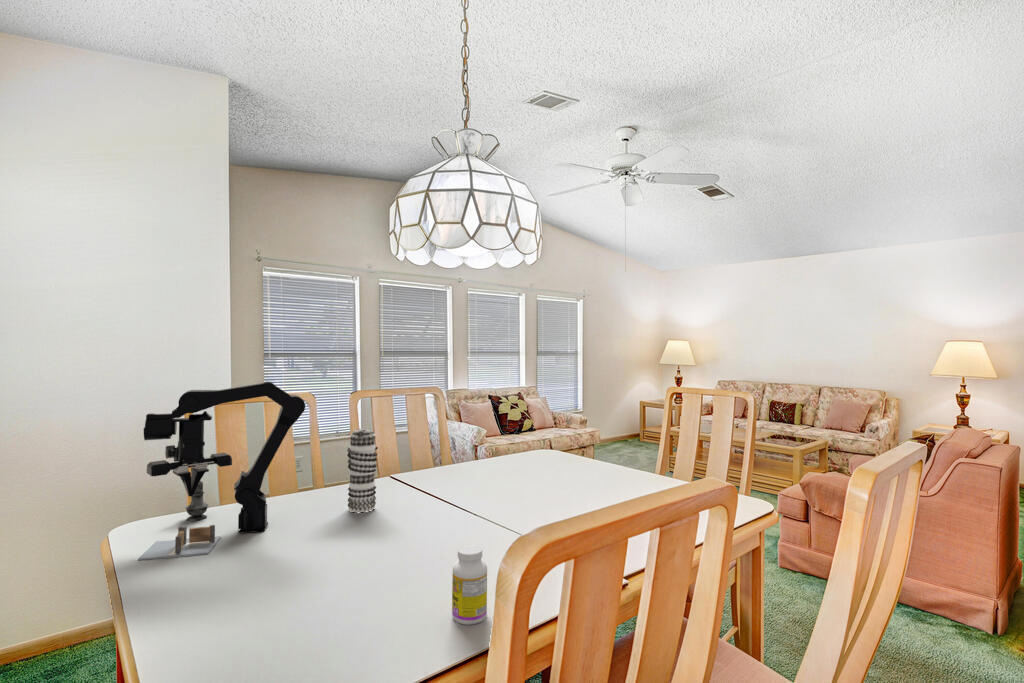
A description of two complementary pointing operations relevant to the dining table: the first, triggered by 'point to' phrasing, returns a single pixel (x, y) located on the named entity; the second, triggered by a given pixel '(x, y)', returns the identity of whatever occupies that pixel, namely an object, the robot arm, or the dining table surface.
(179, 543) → the fence panel
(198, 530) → the fixed fence
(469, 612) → the supplement bottle
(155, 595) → the dining table surface
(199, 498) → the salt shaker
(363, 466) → the decorative candle
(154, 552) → the card
